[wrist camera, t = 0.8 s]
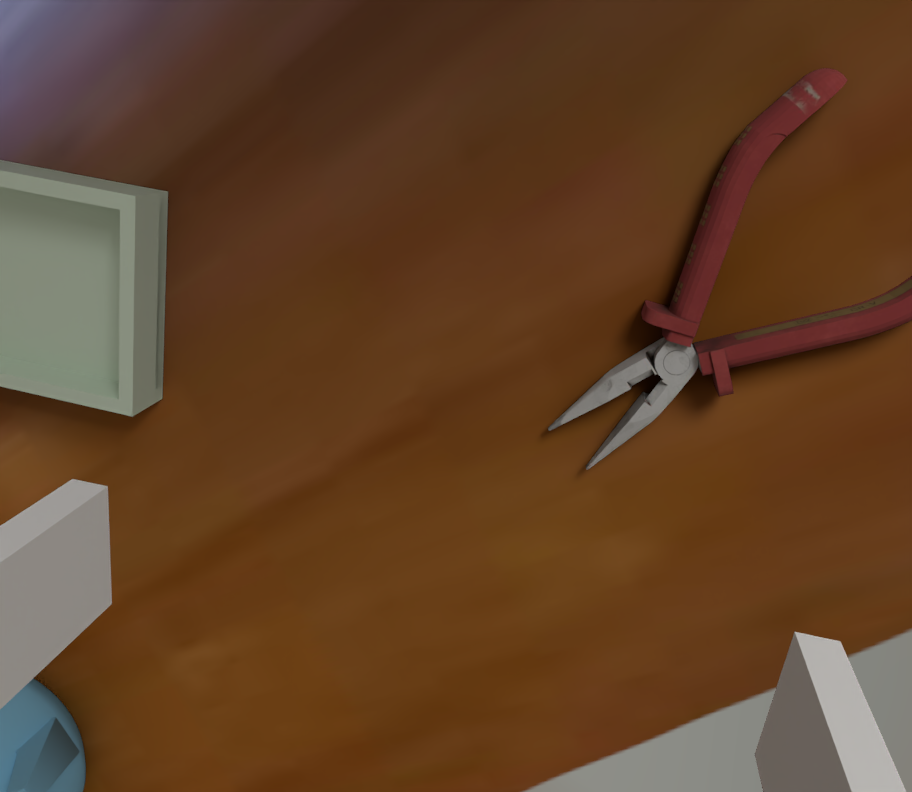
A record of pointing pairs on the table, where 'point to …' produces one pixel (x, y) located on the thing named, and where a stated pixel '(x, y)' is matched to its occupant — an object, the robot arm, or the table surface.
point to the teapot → (39, 744)
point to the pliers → (698, 276)
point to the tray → (82, 288)
